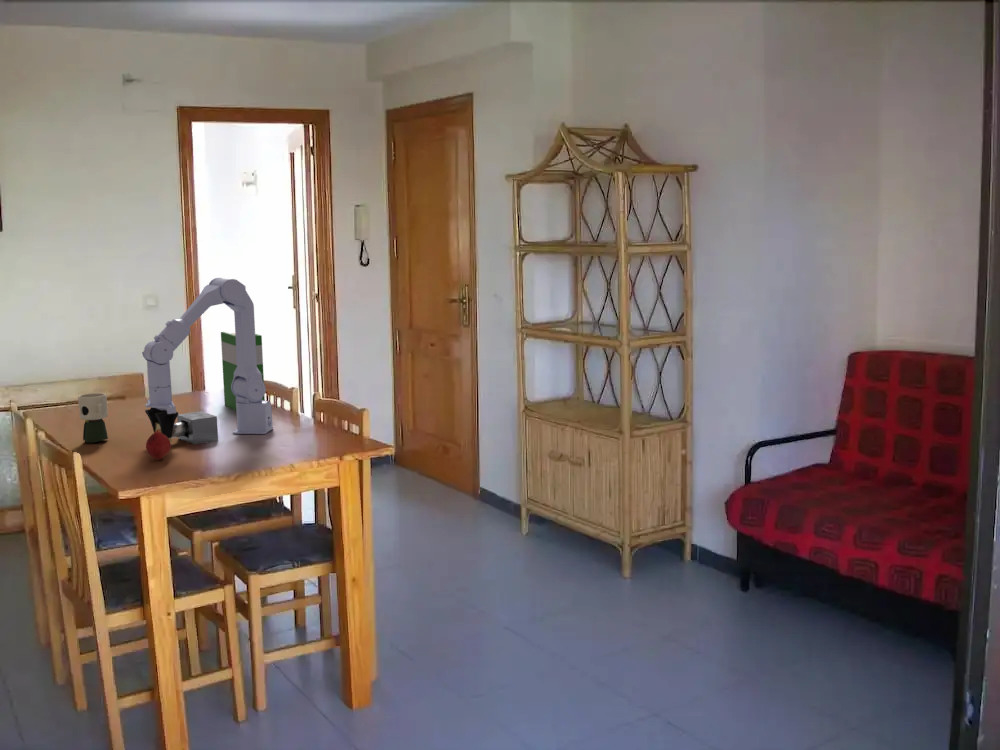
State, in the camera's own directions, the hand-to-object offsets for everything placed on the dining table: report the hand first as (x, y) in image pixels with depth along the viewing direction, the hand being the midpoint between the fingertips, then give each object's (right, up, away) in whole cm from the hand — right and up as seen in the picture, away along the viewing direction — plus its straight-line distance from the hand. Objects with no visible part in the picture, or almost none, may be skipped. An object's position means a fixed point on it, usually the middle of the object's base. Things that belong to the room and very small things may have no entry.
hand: (163, 436), depth 261 cm
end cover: (+2, -1, +2) cm, 3 cm away
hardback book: (+8, +6, +51) cm, 52 cm away
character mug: (-20, -2, +5) cm, 21 cm away
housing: (+7, -1, +7) cm, 10 cm away
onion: (+5, -5, -16) cm, 17 cm away
